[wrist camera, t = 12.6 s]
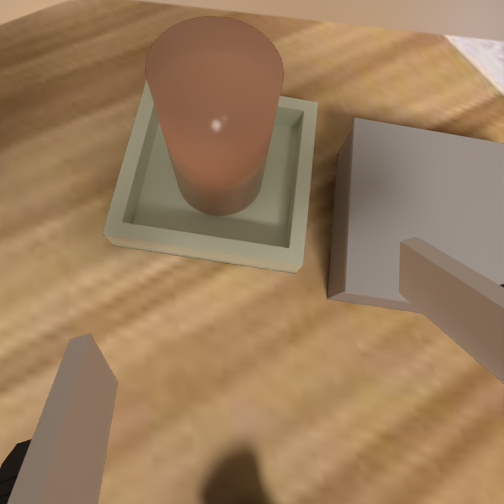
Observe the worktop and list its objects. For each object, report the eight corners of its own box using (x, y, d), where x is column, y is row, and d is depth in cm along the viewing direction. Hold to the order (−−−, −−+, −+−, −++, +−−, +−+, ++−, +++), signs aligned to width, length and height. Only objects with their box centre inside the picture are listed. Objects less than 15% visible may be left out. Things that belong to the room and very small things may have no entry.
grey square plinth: (324, 301, 23) (345, 291, 19) (335, 151, 27) (354, 117, 23) (517, 330, 24) (576, 326, 20) (502, 180, 28) (550, 151, 24)
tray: (114, 245, 23) (102, 234, 21) (154, 97, 27) (148, 72, 25) (294, 273, 24) (302, 265, 21) (309, 123, 28) (318, 102, 25)
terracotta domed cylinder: (169, 208, 24) (130, 113, 14) (185, 134, 26) (161, 6, 16) (256, 221, 24) (276, 136, 14) (266, 147, 26) (289, 28, 16)
